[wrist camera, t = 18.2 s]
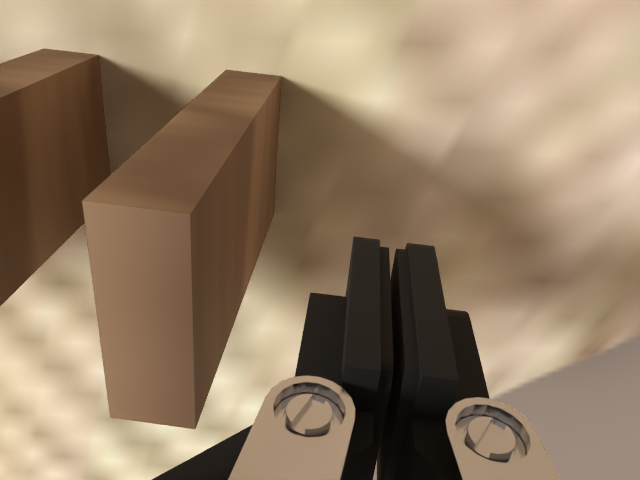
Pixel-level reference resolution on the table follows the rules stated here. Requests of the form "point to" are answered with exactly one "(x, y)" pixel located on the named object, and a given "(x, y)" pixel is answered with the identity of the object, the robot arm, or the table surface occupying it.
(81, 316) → the table surface
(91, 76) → the tile
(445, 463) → the robot arm
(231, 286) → the brown wooden block
